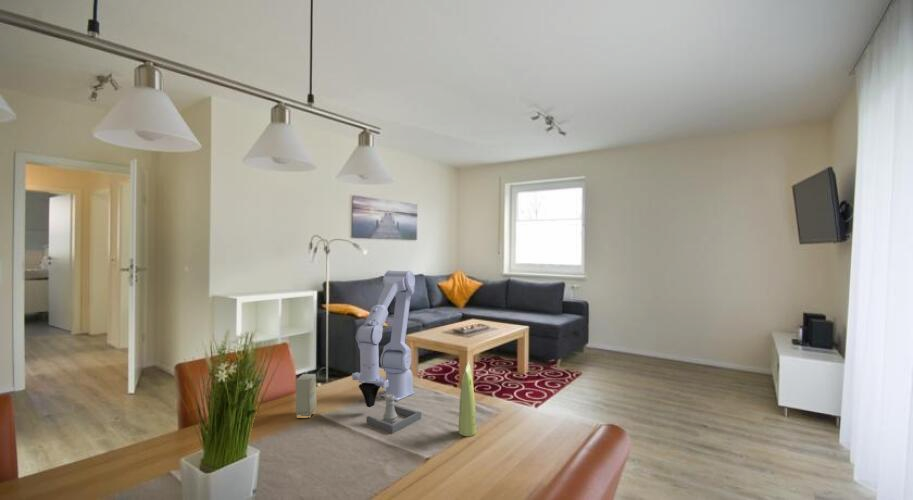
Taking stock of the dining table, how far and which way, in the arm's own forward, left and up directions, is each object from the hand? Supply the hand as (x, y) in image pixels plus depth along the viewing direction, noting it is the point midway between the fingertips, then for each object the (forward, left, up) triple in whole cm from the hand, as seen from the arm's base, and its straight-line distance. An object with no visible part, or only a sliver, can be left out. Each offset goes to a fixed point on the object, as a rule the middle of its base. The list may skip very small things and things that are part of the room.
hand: (370, 405), depth 133 cm
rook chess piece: (+1, +9, -3) cm, 10 cm away
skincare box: (+12, -16, -3) cm, 20 cm away
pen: (0, +10, -2) cm, 10 cm away
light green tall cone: (-6, +33, -3) cm, 34 cm away
